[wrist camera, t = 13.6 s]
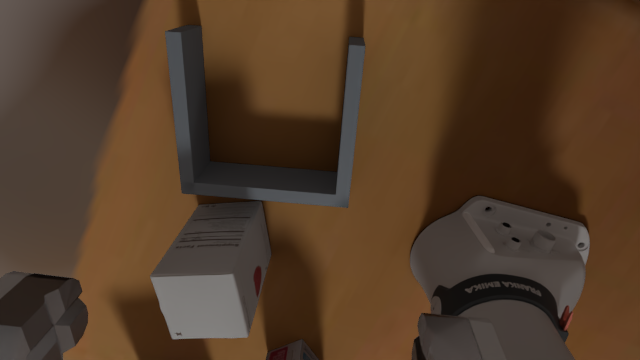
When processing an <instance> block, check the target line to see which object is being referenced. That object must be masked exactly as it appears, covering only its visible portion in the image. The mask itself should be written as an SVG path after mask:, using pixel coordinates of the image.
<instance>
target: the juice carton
mask: <svg viewBox="0 0 640 360" xmlns="http://www.w3.org/2000/svg"><path fill="white" fill-rule="evenodd" d="M266 360H319V359H318V358H317V357H316V355H315V354H314V353H313V352H312V350H311V349H310V348H309V347H308V345H307V344H306V343H305V342H304V340H303V339H301V340H298V341H296V342H293V343H290V344H288V345H285V346H282V347H280V348H277V349H275V350H272V351H269V352H268V353H267V357H266Z"/></svg>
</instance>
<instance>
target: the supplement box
mask: <svg viewBox="0 0 640 360" xmlns="http://www.w3.org/2000/svg"><path fill="white" fill-rule="evenodd" d="M270 258H271V249H270V243H269V238H268V232H267V227H266V221H265V216H264V211H263V205H262V202H261V201H250V202H234V203H218V204H203V205H198V207H197V208H196V210H195V211H194V213H193V214H192V216H191V217H190V219H189V220H188V222H187V223H186V224H185V226H184V227H183V229H182V230H181V232H180V233H179V235H178V236H177V238H176V239H175V241H174V242H173V244H172V245H171V246H170V248H169V249H168V251H167V252H166V254H165V255H164V257H163V258H162V260H161V261H160V263H159V264H158V265H157V267H156V268H155V270H154V271H153V273H152V274H151V275H150V278H151V281H152V283H153V286H154V289H155V292H156V295H157V297H158V300H159V304H160V309H161V311H162V313H163V315H164V317H165V320H166V323H167V326H168V329H169V332H170V335H171V337H172V339H191V338H242V337H248V336H249V332H250V329H251V325H252V322H253V318H254V315H255V311H256V308H257V304H258V300H259V297H260V293H261V290H262V286H263V282H264V279H265V275H266V272H267V268H268V265H269V261H270Z"/></svg>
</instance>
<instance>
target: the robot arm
mask: <svg viewBox="0 0 640 360" xmlns="http://www.w3.org/2000/svg"><path fill="white" fill-rule="evenodd" d="M487 207H490V208H489V209H488V210H485V209H486V208H487ZM579 243H581V244H579ZM578 244H579V245H578ZM589 247H590V241H589V234H588V231H587V229H586V227H585V226H584V224H582V223H580V222H577V221H574V220H570V219H566V218H563V217H559V216H555V215H551V214H548V213H544V212H540V211H536V210H533V209H529V208H525V207H522V206H518V205H514V204H510V203H507V202H503V201H499V200H495V199H492V198H488V197H484V196H476V197H473V198H471V199H470V200H469V201H467V202H466V203H465V204H464V205H463V206H462V207H461V208H460V209H459V210H457V211H456V212H454V213H452V214H450V215H447V216H445V217H442V218H440V219H438V220H437V221H435V222H433V223H432V224H430V225H429V226H428V227H427V228H426V229H424V230H423V231H422V233H421V234H420V235H419V236H418V238H417V239H416V241H415V243H414V245H413V247H412V250H411V255H410V265H411V270H412V272H413V275H414V277H415V278H416V280H417V281H418V282H419V283H420V285H421V286H422V288H423V290H424V291H425V293H426V295H427V297H428V300H429V302H430V304H431V314H429V313H421V315H420V317H419V321H418V325H417V326H418V332H419V336H418V337H417V338H415V339H414V343H413V349H412V360H575V359H574V357H573V356H572V354H571V352H570V351H569V349H568V348H567V346H566V345H565V341H566V339H567V337H568V331H567V328H568V326H569V324H570V322H571V320H572V316H573V312H572V310H573V309H574V307H575V305H576V303H577V301H578V299H579V297H580V295H581V292H582V290H583V286H584V282H585V274H586V272H585V264H586V261H587V258H588V254H589ZM81 293H82V289H81V285H80V282H79V280H76V279H74V278H67V277H59V276H51V275H43V274H35V273H34V274H31V273H24V272H16V271H13V272H10V273H7V274H5V275H4V276H3V277H1V278H0V360H63V353H64V352H66V351H67V350H69V349H71V348H72V347H74V346H76V344H77V343H78V342H79V340H80V339H81V337H82V336H83V334H84V331H85V329H86V326H87V323H88V311H87V307H86V305H85V304H84V303H83V302H82V301H81V300H80V299H79V298H78V297H79V296H80V294H81Z"/></svg>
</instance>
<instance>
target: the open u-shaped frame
mask: <svg viewBox="0 0 640 360" xmlns="http://www.w3.org/2000/svg"><path fill="white" fill-rule="evenodd" d="M165 35H166V45H167V54H168V64H169V74H170V83H171V93H172V103H173V112H174V122H175V132H176V142H177V151H178V161H179V171H180V180H181V190H182V193H183V194H195V195H207V196H218V197H230V198H242V199H253V200H265V201H276V202H288V203H300V204H311V205H323V206H334V207H346V208H348V203H349V194H350V185H351V175H352V166H353V157H354V147H355V138H356V129H357V119H358V110H359V101H360V91H361V82H362V73H363V63H364V54H365V43H364V38H359V37H349V46H348V57H347V68H346V80H345V91H344V102H343V113H342V124H341V136H340V147H339V158H338V169H337V172H332V171H320V170H308V169H296V168H284V167H272V166H260V165H248V164H236V163H224V162H212V161H210V151H209V135H208V120H207V105H206V89H205V74H204V58H203V43H202V28H201V26H195V25H186V26H182V27H179V28H175V29H172V30H168V31H165Z"/></svg>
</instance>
